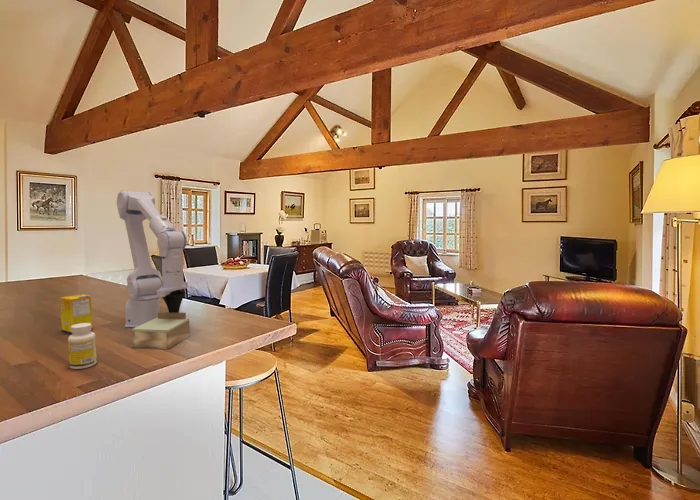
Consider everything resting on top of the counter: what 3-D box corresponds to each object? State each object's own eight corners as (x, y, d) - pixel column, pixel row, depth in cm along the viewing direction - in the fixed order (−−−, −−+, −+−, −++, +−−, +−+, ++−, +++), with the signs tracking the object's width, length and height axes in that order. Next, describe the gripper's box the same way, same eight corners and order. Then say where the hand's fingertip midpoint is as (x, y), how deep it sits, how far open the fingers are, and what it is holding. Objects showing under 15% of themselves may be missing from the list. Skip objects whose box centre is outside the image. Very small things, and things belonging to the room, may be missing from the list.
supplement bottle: (78, 361, 95) (76, 322, 94) (101, 360, 95) (100, 321, 95) (63, 369, 90) (61, 328, 89) (88, 369, 90) (86, 328, 89)
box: (132, 347, 105) (132, 331, 105) (157, 334, 117) (156, 319, 117) (168, 348, 105) (168, 332, 104) (189, 335, 117) (189, 320, 116)
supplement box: (81, 327, 124) (80, 293, 123) (93, 330, 121) (91, 295, 120) (61, 332, 118) (59, 296, 117) (72, 335, 116) (70, 299, 115)
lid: (132, 331, 105) (131, 322, 105) (156, 319, 117) (156, 311, 116) (168, 332, 104) (168, 323, 104) (189, 320, 116) (189, 312, 116)
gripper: (173, 275, 108) (174, 322, 110) (196, 268, 123) (197, 310, 124) (149, 274, 109) (150, 322, 110) (175, 267, 123) (176, 310, 124)
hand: (174, 316), depth 117 cm, fingers closed
